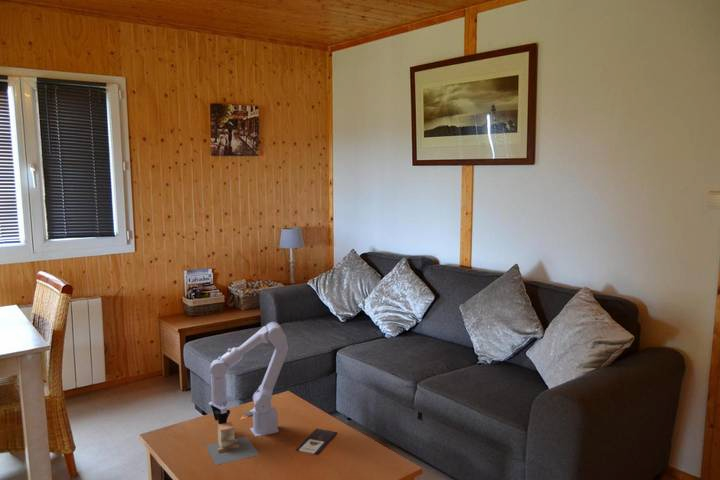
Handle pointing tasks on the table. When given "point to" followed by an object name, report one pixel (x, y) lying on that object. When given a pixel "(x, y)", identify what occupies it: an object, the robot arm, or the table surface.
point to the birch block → (226, 435)
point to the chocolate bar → (316, 441)
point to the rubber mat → (232, 451)
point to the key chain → (248, 414)
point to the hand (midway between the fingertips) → (220, 423)
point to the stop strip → (228, 448)
